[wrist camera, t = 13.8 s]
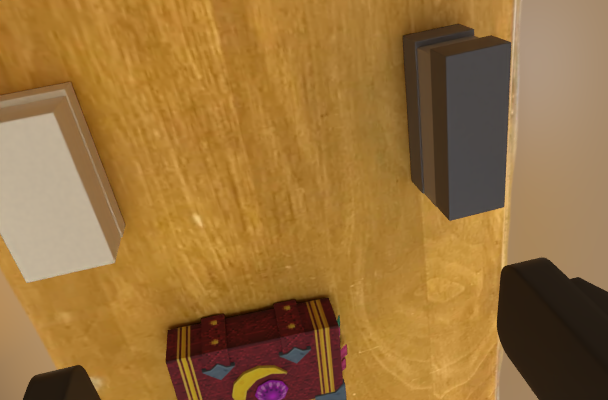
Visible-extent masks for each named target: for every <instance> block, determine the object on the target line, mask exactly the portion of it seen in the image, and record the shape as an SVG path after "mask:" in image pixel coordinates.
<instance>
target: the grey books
mask: <svg viewBox="0 0 608 400" xmlns="http://www.w3.org/2000/svg"><path fill="white" fill-rule="evenodd" d="M403 50H404V66H405V82H406V97H407V113H408V129H409V145H410V161H411V176H412V182H413V183H414V184H415V185H416V186H417V187H418V189H419V190H420V191H421V192H422V193H424V194H425V195H426V196H427V197H428V198H429V199H430V200H431V202H432V203H433V204H434V205H435V206H436V207H438V208H439V210H440V211H441V212H442V213H443V214H444V215H445V216H446V217H447V219H448V220H449V221H451V220H455V219H459V218H463V217H467V216H471V215H475V214H479V213H483V212H487V211H491V210H494V209H498V208H502V207H504V202H505V178H506V154H507V130H508V107H509V83H510V59H511V42H509V41H506V40H503V39H500V38H497V37H494V36H486V37H482V38H478V37H475V36H474V29H472V28H469V27H466V26H463V25H460V24H455V25H451V26H446V27H441V28H437V29H432V30H427V31H423V32H418V33H413V34H409V35H404V36H403Z"/></svg>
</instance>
